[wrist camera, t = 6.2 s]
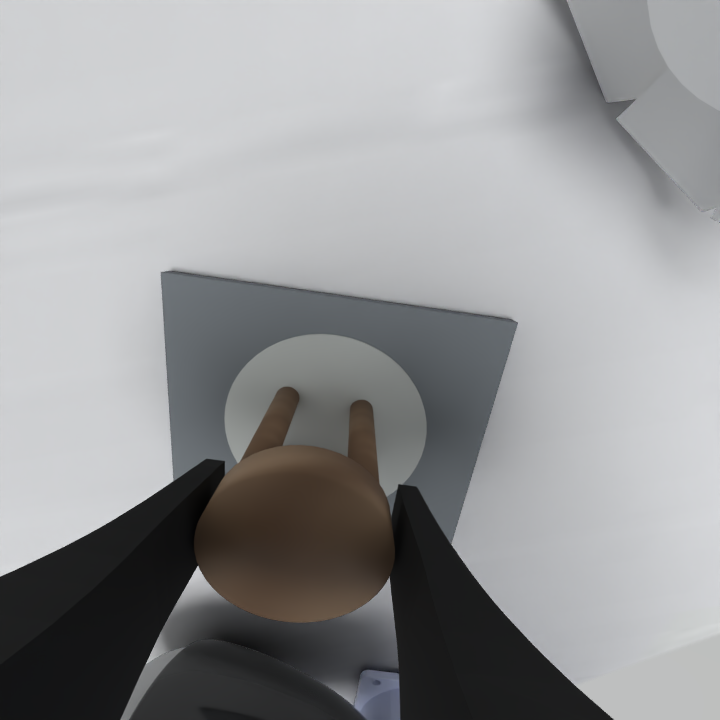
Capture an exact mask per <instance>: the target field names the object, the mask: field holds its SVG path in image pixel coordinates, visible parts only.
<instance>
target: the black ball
mask: <svg viewBox="0 0 720 720" xmlns="http://www.w3.org/2000/svg"><path fill="white" fill-rule="evenodd" d="M121 720H367V719H366V718H365V717H364V716H363V715H362V714H361V713H360V712H359V711H358V710H357V709H356V708H355V707H354V706H353V705H352V704H350V703H349V702H348V701H347V700H346V699H344V698H343V697H342V696H340V695H339V694H338V693H336V692H335V691H333V690H332V689H331V688H329V687H328V686H326V685H324V684H323V683H321V682H319V681H318V680H316V679H314V678H312V677H311V676H309V675H307V674H305V673H303V672H301V671H300V670H298V669H296V668H294V667H292V666H290V665H288V664H286V663H284V662H282V661H280V660H278V659H275V658H273V657H271V656H268V655H266V654H263V653H261V652H258V651H255V650H252V649H249V648H246V647H243V646H240V645H237V644H234V643H230V642H226V641H221V640H214V639H202V640H198V641H195V642H193V643H191V644H190V645H188V646H187V647H183V648H179V649H176V650H173V651H170V652H168V653H165V654H163V655H161V656H159V657H157V658H155V659H154V660H152V661H150V662H149V663H147V664H146V665H145V666H144V669H143V671H142V673H141V675H140V677H139V679H138V682H137V684H136V686H135V688H134V691H133V693H132V695H131V697H130V700H129V702H128V704H127V706H126V708H125V711H124V713H123V715H122V717H121Z"/></svg>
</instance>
